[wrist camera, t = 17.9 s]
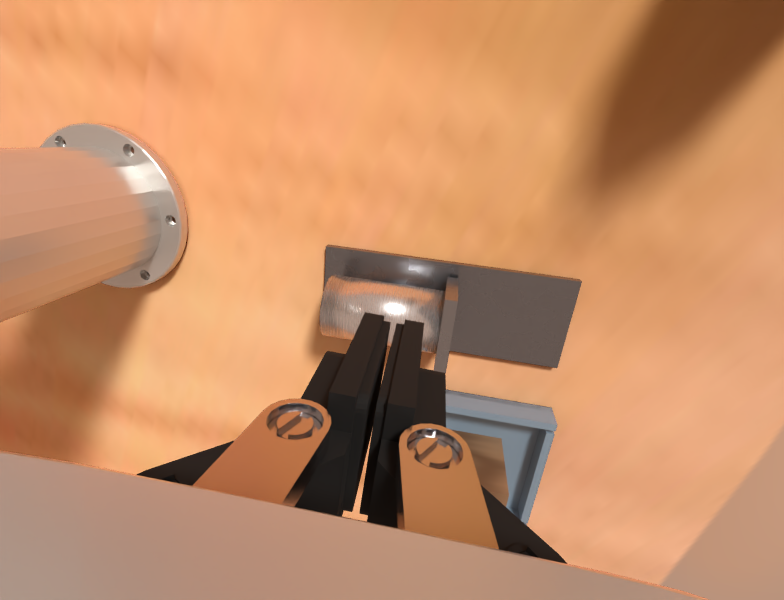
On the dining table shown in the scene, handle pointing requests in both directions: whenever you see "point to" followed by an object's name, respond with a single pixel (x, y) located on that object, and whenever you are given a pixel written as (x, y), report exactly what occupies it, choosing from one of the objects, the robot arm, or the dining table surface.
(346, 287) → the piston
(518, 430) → the tray
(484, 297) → the rail
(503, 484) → the block
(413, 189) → the dining table surface
